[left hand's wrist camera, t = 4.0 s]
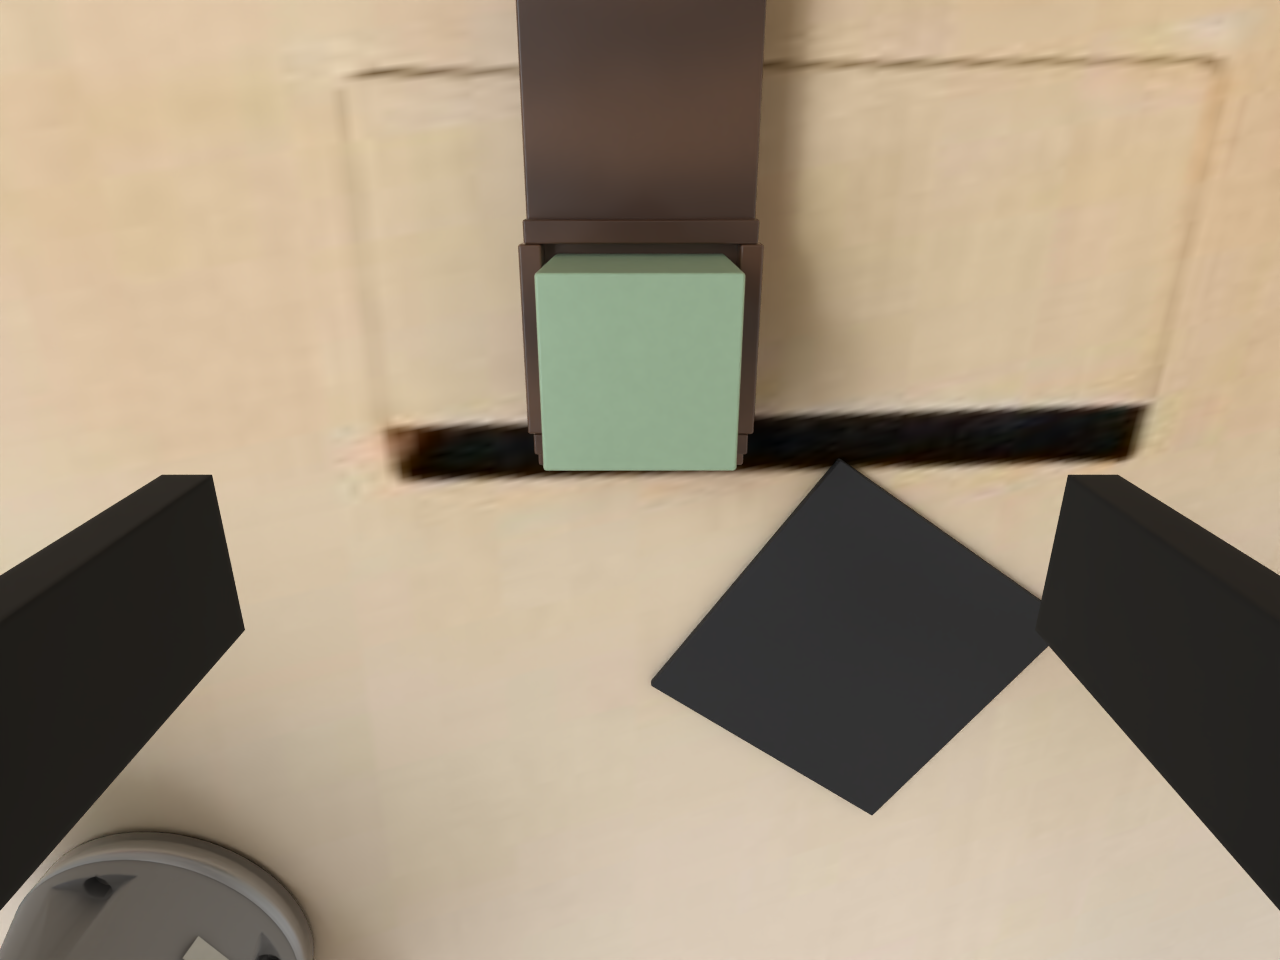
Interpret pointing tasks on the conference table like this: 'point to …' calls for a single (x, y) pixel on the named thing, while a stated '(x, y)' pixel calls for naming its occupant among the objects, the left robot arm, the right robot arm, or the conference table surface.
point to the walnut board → (641, 146)
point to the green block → (639, 361)
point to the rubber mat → (856, 642)
